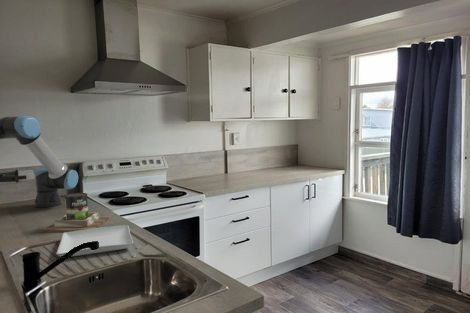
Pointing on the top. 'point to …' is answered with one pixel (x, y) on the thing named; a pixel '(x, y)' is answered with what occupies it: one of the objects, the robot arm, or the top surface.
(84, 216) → the coffee can
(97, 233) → the square plate
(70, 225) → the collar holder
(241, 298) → the top surface
